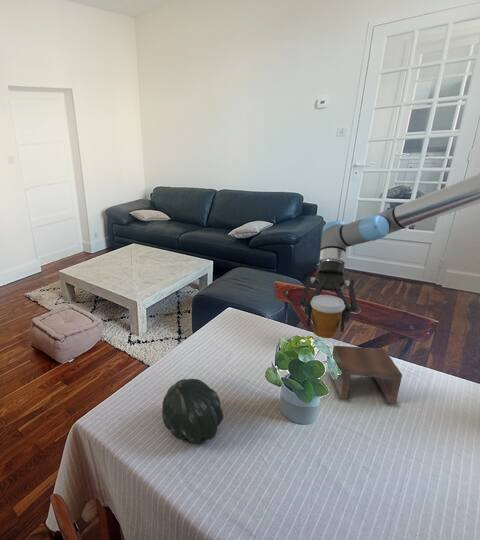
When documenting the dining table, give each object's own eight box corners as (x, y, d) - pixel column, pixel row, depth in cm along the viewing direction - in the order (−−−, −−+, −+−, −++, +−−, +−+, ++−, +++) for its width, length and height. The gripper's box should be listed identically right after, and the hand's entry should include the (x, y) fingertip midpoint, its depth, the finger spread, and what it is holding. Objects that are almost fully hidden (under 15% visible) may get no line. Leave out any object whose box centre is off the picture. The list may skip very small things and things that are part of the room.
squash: (234, 394, 86) (193, 355, 85) (234, 444, 73) (185, 399, 72) (193, 416, 93) (155, 380, 92) (187, 465, 80) (142, 423, 79)
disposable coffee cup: (339, 344, 105) (343, 309, 100) (304, 336, 111) (307, 303, 106) (343, 330, 111) (347, 297, 107) (311, 323, 117) (314, 292, 113)
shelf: (379, 376, 94) (384, 348, 91) (395, 404, 85) (402, 374, 81) (330, 371, 98) (333, 345, 95) (340, 397, 88) (345, 369, 85)
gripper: (368, 271, 112) (364, 337, 105) (296, 266, 123) (288, 325, 116) (371, 262, 106) (367, 331, 99) (296, 257, 117) (287, 319, 110)
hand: (324, 328), depth 107 cm, fingers closed on disposable coffee cup, 8 cm apart
